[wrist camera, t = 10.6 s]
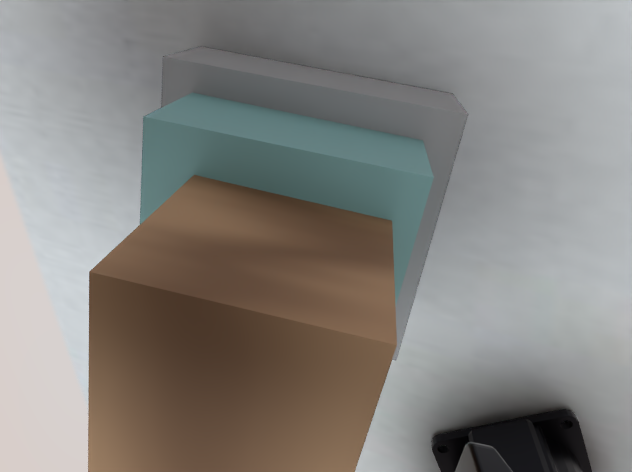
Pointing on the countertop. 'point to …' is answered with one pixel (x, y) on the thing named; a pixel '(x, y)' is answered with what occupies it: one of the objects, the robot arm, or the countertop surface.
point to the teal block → (288, 162)
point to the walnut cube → (240, 335)
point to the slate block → (335, 119)
